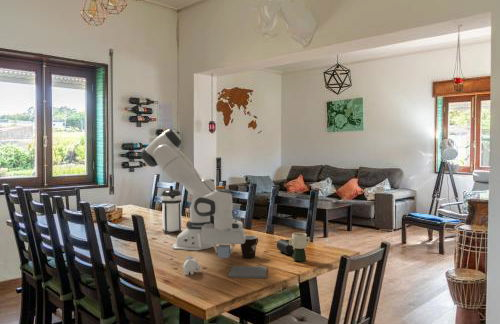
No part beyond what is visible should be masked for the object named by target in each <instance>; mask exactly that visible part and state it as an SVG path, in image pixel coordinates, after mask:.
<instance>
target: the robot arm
mask: <svg viewBox="0 0 500 324" xmlns="http://www.w3.org/2000/svg"><path fill="white" fill-rule="evenodd" d="M181 145H182V139H181V136H180V134H179V133H178V132H177V131H175V130H173V129H172V128H171V129H170V128H168V129H166V130H164V131H163V132H162V133H161V134H159V135H157V137H155V138H154V139H153V140H152V141H151V142H150V143H149V144H148V145H147V146H146V148H144V149H143V150H142V151H141V152H140V157H141V160H142V161H143V162H144V163H145V165H147V166H149V167H151V168H155V167H156V166H158V167H159V168H160V170H161V171H162V172H163V173H164V175H165V176H166V177H167V178H168V179H169V180H170V181H172V182H173V183H180V184H181V185H182V186H183V187H184V189H185V190H186V191H187V192H188V193H189V194H190V195H192V201H191V204H190V205H189V220H187V222H186V223H185V224H186V228H185V229H183V230H182V232H181V231H180V232H181V233H179V234H178V235H177V237H176V242H175V243H173V244H172V245H171V248H172V249H173V250H187V251H200V250H201V251H202V250H205V249H210V248H212V247H213V249H214V250H215V254H218V247H217V245H230V249H229V253H230V254H233V249H235V245H241V244H244V243H245V240H246V239H245V236H246V232H245V229H244V227H243V222H242V221H241V220H237V219H235V218H234V216H233V209H234V206H233V204H234V203H233V195H232V193H231V191H229V190H228V189H225V188H224V189H216V185H215V183H214V181H213V180H212V179H210V178H209V177H207V176H203V175H201V174H199V172H198V171H197V169H196V168H195V166H194V164H193V163H192V161H191V160H190V159H189V158H188V157H187V156H186V154H184V153H183V152H182V151H181V150H180V149H179V148H180V146H181ZM210 215H213V216H214V224H211V221H210Z"/></svg>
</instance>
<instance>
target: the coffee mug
mask: <svg viewBox="0 0 500 324" xmlns="http://www.w3.org/2000/svg"><path fill="white" fill-rule="evenodd" d="M245 239H246V240H245V243H244V244H240V249H241V257H242V258H243V259H246V260H248V259H249V260H251V259H255V258H256V252H257V251H256V249H257V245H258V244H259V238H258V236H255V235H252V234H251V235H250V234H249V235H248V234H247V235H246V234H245Z"/></svg>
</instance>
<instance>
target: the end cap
mask: <svg viewBox="0 0 500 324" xmlns="http://www.w3.org/2000/svg"><path fill="white" fill-rule="evenodd" d="M291 243H292V241H291ZM276 249H278V251H280V252H281V253H284V254H286V255H288V256H289V257H291V256H292V257H293V254H294V249H295V248H294V247H293V246H292V245H289V239H283V238H279V240H278V241H277V243H276Z"/></svg>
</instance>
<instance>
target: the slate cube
mask: <svg viewBox="0 0 500 324" xmlns="http://www.w3.org/2000/svg"><path fill="white" fill-rule="evenodd" d="M217 249H218V253H217V257H218V259H230V256H231V253H229V249H231V244H218V247H217Z"/></svg>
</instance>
